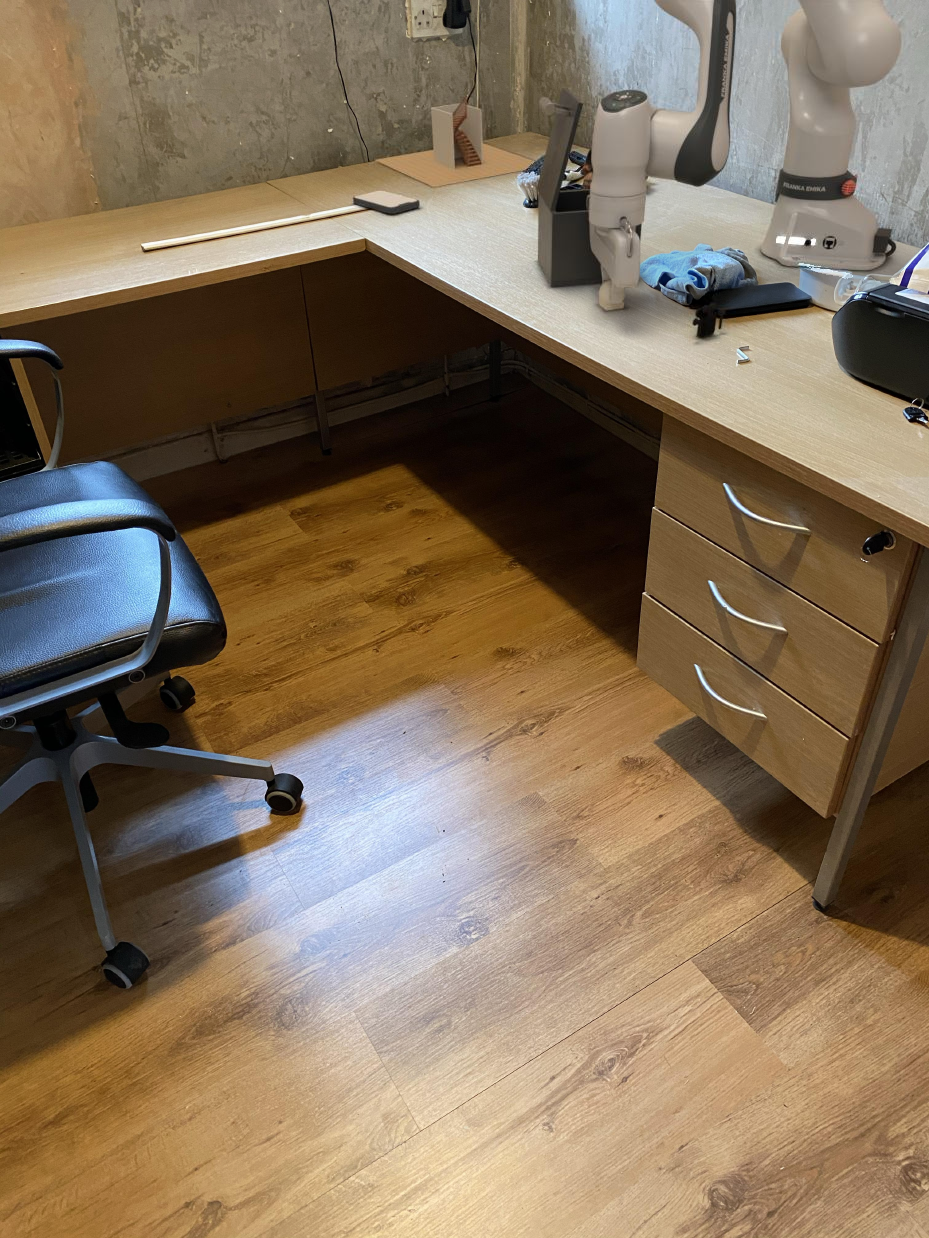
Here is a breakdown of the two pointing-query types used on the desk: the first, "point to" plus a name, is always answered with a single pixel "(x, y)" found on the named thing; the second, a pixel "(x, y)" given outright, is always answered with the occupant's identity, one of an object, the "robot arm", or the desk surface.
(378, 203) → the phone case
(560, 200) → the waste bin
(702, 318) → the black knobbed bracket
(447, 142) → the staircase
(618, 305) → the beige rounded piece
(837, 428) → the desk surface
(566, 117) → the bin lid
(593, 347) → the desk surface
